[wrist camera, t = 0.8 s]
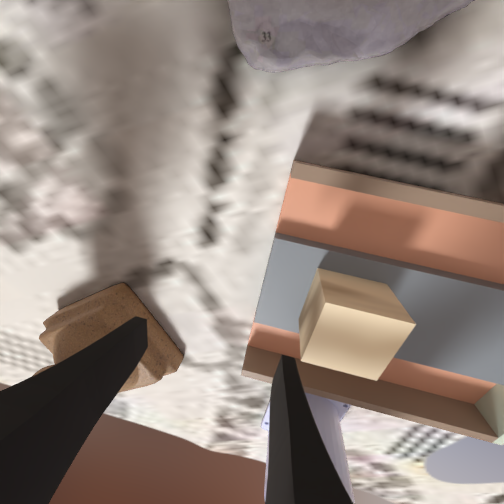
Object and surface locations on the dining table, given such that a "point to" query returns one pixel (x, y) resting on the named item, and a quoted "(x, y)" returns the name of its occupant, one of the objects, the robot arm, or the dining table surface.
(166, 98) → the dining table surface
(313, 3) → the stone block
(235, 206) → the dining table surface
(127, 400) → the dining table surface
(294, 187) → the box
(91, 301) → the candle holder
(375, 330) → the maple block
